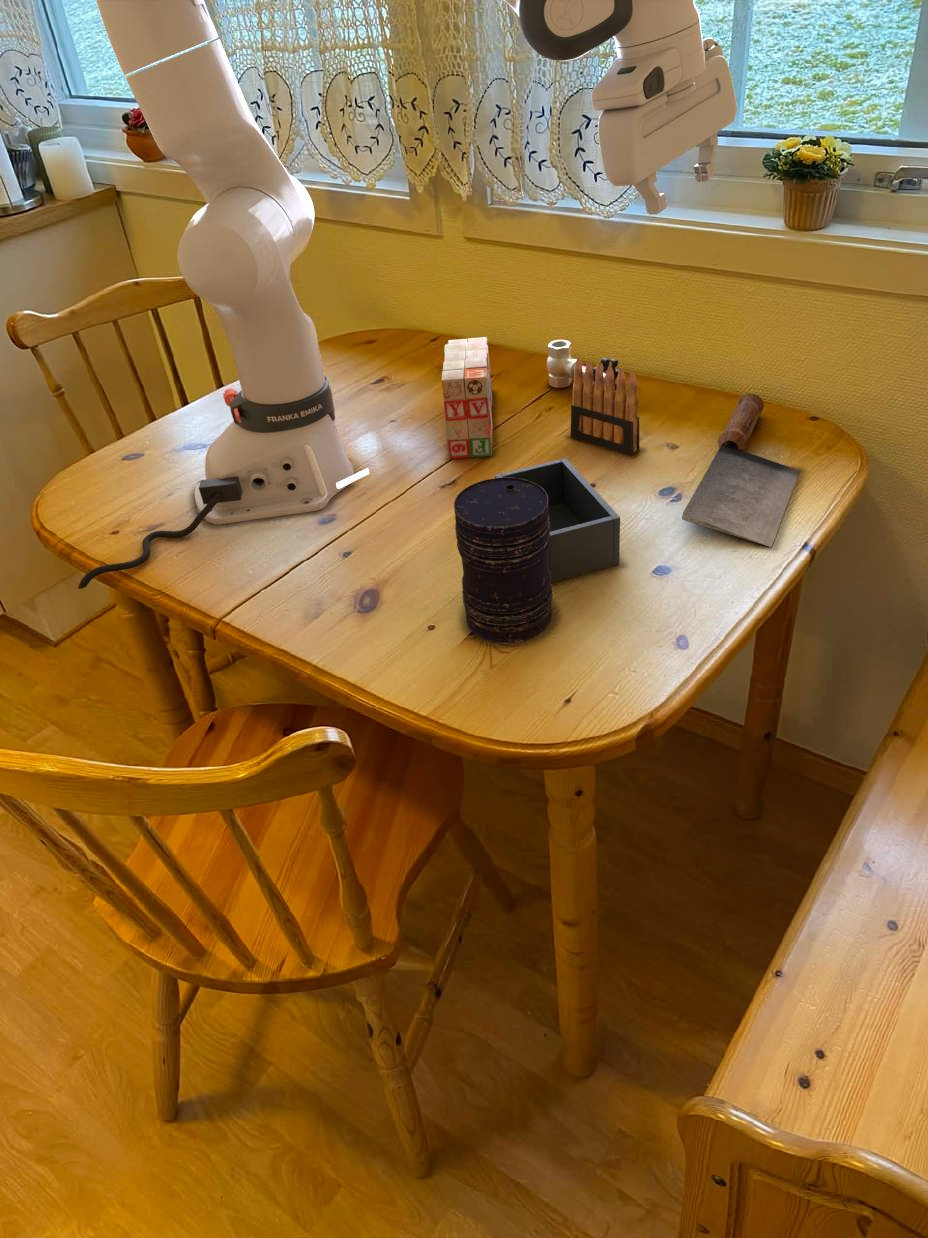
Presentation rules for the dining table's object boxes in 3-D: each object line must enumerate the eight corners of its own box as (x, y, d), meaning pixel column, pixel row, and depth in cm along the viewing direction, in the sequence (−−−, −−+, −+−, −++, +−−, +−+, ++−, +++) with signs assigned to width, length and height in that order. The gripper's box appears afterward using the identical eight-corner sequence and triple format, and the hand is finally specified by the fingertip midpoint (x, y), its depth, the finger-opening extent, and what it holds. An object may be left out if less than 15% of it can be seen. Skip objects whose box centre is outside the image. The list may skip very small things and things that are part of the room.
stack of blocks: (453, 394, 150) (446, 320, 142) (492, 392, 149) (487, 316, 141) (449, 459, 133) (440, 378, 125) (492, 456, 132) (486, 375, 125)
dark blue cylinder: (535, 652, 98) (530, 534, 89) (451, 635, 102) (437, 520, 92) (564, 597, 105) (562, 483, 96) (484, 583, 109) (474, 471, 99)
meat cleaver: (772, 547, 109) (777, 518, 107) (678, 531, 114) (680, 503, 111) (817, 423, 133) (821, 396, 130) (737, 413, 137) (740, 388, 134)
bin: (544, 585, 107) (542, 538, 103) (497, 519, 119) (494, 474, 115) (619, 564, 109) (620, 517, 105) (566, 502, 121) (565, 457, 117)
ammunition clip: (570, 436, 135) (568, 358, 128) (577, 431, 136) (576, 353, 129) (632, 455, 129) (635, 374, 122) (639, 450, 130) (642, 369, 123)
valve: (536, 386, 149) (593, 407, 142) (535, 347, 145) (593, 366, 138) (564, 373, 152) (621, 392, 145) (564, 334, 148) (622, 352, 141)
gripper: (694, 35, 106) (711, 162, 114) (580, 99, 97) (606, 231, 105) (742, 26, 101) (756, 159, 109) (626, 93, 93) (650, 231, 101)
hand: (681, 195), depth 107 cm, fingers open, 8 cm apart
